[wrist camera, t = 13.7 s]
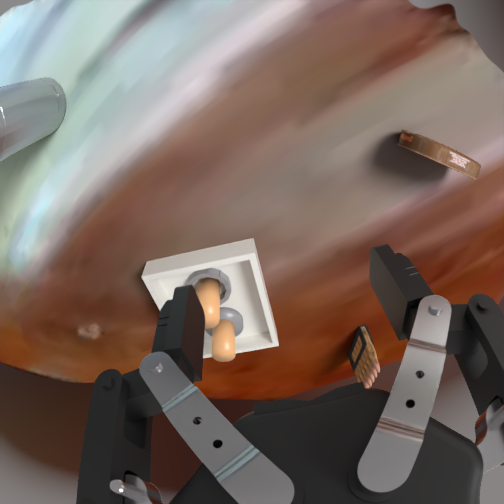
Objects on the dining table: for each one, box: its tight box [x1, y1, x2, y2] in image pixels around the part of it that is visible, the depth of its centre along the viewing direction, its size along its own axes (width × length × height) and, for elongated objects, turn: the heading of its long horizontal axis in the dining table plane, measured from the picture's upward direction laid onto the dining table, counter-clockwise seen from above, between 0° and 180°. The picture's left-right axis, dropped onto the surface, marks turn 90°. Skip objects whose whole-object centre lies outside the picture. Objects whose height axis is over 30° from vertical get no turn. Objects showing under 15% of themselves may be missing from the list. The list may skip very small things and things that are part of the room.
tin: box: [397, 130, 481, 180], centre depth 36 cm, size 15×3×8 cm, turn 78°
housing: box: [141, 238, 279, 362], centre depth 50 cm, size 18×22×9 cm
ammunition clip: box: [348, 325, 380, 388], centre depth 59 cm, size 11×2×12 cm, turn 0°
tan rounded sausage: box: [196, 277, 221, 329], centre depth 47 cm, size 4×4×8 cm
